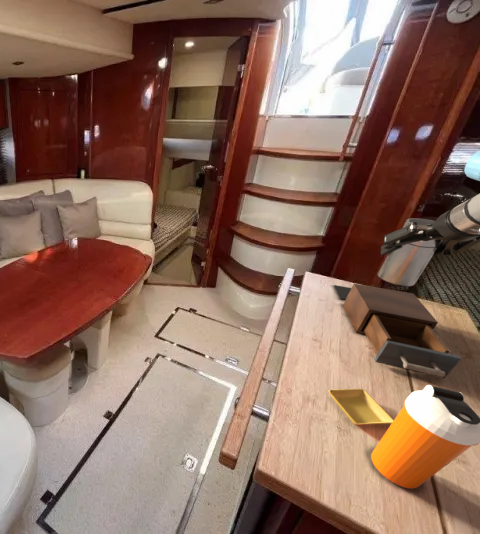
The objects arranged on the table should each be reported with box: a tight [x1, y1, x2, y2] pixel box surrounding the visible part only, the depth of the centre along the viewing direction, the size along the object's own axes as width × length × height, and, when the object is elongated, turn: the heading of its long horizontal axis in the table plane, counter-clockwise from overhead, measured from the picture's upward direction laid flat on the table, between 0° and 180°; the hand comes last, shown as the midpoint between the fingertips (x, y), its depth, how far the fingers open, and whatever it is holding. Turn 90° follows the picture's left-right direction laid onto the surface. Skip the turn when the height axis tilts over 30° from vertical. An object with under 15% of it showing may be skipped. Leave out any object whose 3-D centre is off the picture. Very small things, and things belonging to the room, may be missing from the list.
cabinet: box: [342, 283, 439, 336], centre depth 92 cm, size 15×15×9 cm
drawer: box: [364, 313, 462, 379], centre depth 80 cm, size 18×14×7 cm
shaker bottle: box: [370, 384, 480, 489], centre depth 54 cm, size 9×9×20 cm
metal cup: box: [377, 217, 443, 287], centre depth 84 cm, size 8×8×17 cm
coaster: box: [333, 284, 352, 301], centre depth 108 cm, size 9×9×1 cm
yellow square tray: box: [328, 388, 395, 426], centre depth 69 cm, size 9×9×2 cm
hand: (402, 253), depth 87 cm, fingers closed on metal cup, 8 cm apart
